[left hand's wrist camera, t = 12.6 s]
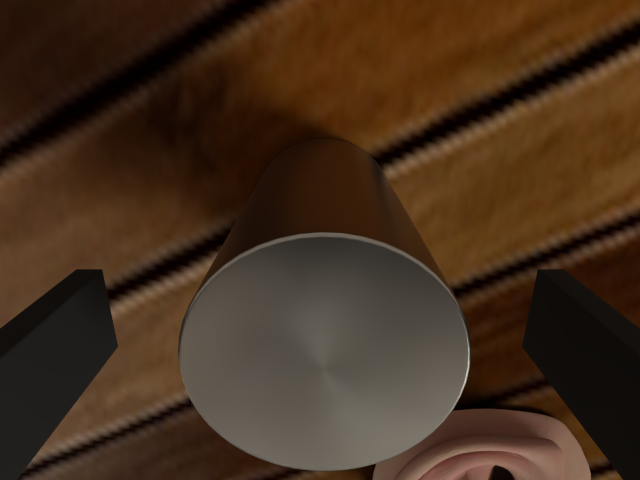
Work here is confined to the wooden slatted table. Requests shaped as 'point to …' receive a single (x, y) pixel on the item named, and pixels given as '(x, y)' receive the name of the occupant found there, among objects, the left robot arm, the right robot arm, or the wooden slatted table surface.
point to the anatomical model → (491, 450)
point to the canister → (324, 320)
